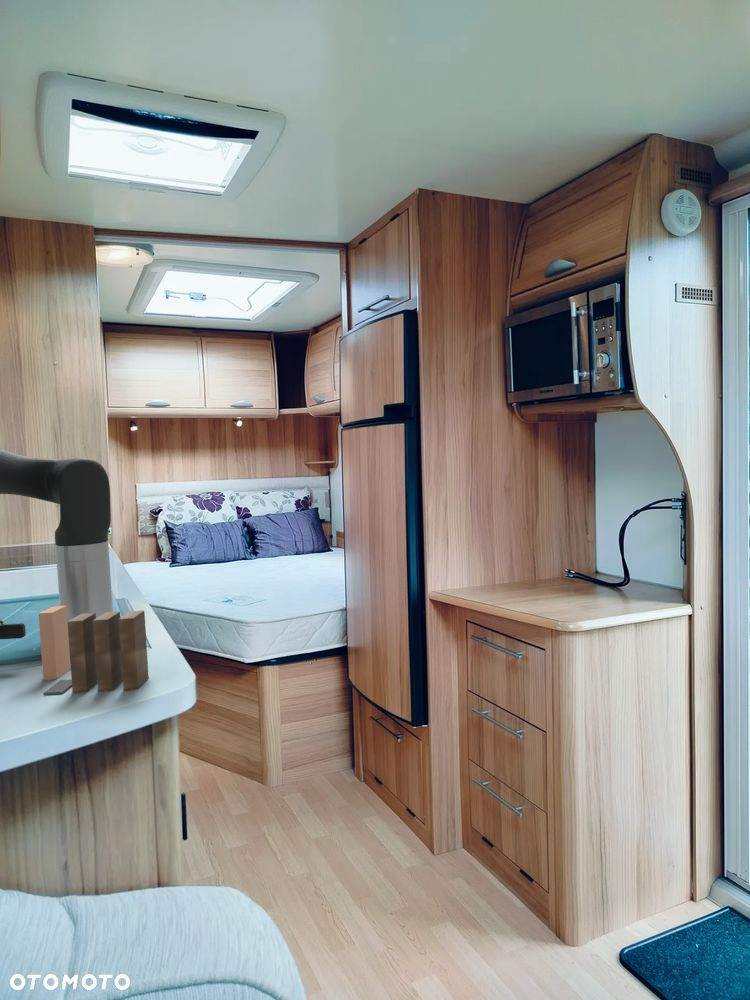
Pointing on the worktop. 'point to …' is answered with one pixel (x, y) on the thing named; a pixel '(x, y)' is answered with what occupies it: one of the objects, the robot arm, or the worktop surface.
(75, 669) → the walnut domino
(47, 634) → the salmon pink domino
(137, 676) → the walnut domino
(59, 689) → the pad
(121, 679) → the walnut domino
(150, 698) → the worktop surface
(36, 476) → the robot arm
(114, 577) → the worktop surface
